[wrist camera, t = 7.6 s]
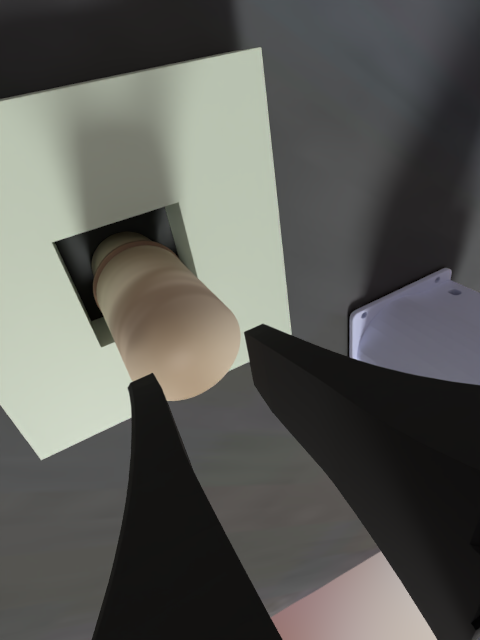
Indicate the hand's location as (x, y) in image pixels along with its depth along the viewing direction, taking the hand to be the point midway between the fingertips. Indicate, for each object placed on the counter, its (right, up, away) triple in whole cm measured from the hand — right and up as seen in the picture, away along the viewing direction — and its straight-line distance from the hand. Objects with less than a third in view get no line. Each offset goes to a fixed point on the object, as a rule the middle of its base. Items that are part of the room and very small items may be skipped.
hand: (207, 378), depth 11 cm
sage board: (-4, +4, +8) cm, 10 cm away
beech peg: (-4, +4, +8) cm, 10 cm away
